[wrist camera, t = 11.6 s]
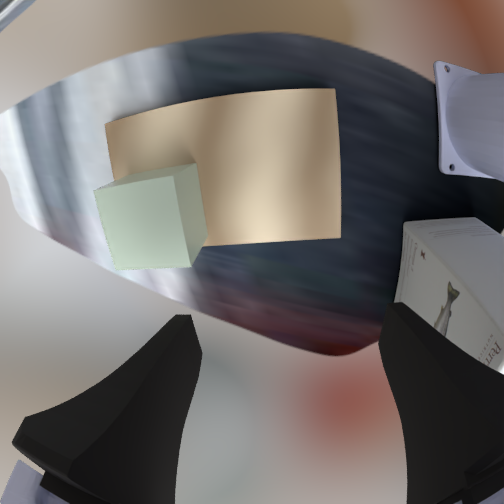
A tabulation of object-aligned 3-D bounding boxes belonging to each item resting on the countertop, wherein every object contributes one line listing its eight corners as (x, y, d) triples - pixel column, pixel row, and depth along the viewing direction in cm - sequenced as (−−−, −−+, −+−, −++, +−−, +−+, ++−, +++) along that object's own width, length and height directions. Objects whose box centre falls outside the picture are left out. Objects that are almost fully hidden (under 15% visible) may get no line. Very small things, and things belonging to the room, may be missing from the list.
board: (330, 91, 14) (334, 88, 13) (336, 230, 18) (340, 237, 17) (114, 123, 15) (104, 124, 14) (138, 244, 19) (131, 251, 18)
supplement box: (400, 219, 17) (516, 345, 6) (475, 215, 16) (585, 305, 5) (389, 306, 20) (447, 441, 9) (459, 294, 19) (529, 399, 8)
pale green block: (196, 162, 15) (173, 175, 12) (208, 235, 17) (191, 266, 14) (128, 174, 16) (93, 190, 12) (143, 241, 18) (115, 270, 14)
